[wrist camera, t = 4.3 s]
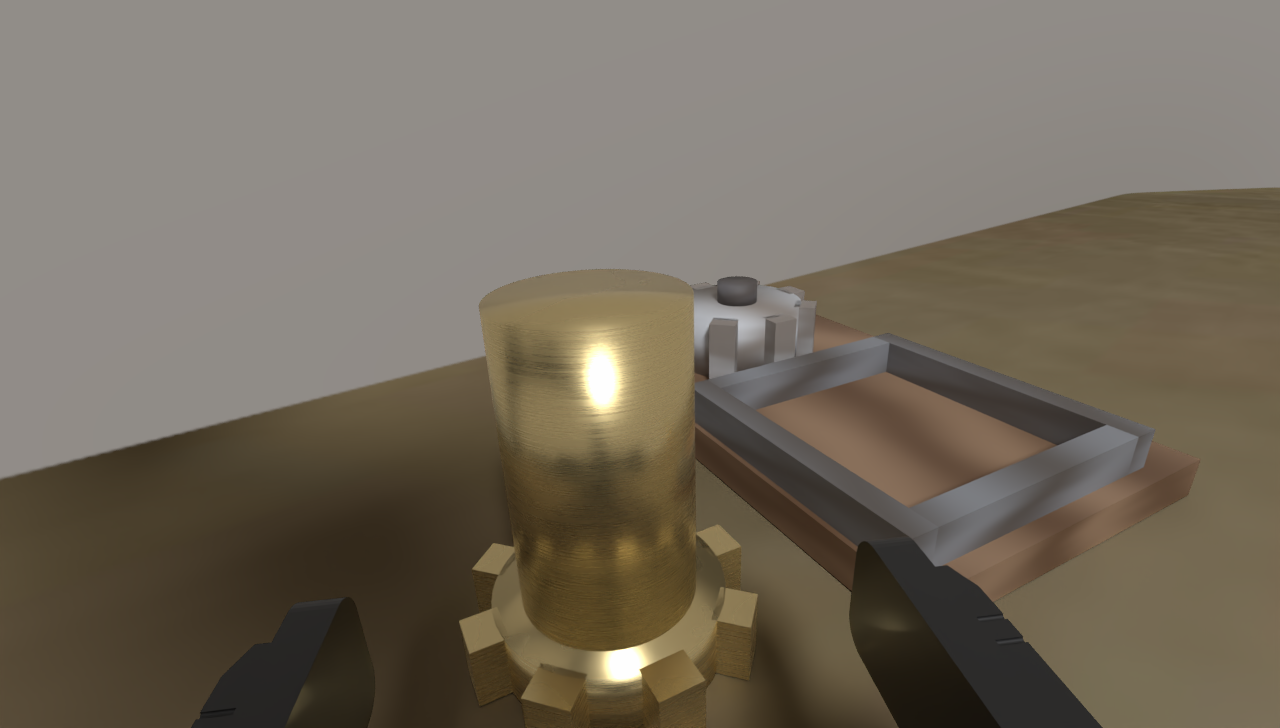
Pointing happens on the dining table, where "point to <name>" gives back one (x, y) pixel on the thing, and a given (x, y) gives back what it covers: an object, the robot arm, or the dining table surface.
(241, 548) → the dining table surface
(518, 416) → the gear
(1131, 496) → the plate
